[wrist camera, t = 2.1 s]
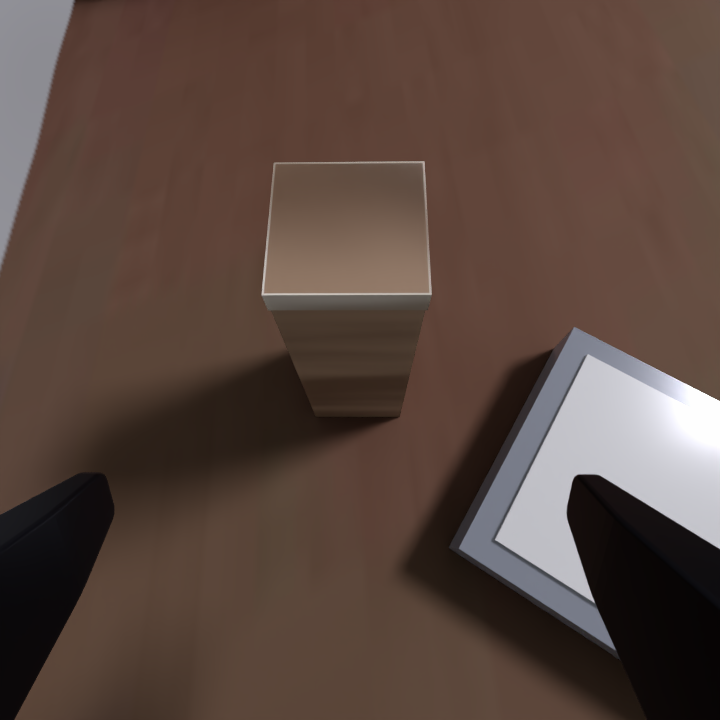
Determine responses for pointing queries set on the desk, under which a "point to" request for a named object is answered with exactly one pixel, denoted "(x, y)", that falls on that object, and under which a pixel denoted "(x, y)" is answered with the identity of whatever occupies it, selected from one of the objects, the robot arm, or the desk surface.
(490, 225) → the desk surface
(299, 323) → the beige rectangular block
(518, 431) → the plinth
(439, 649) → the desk surface
